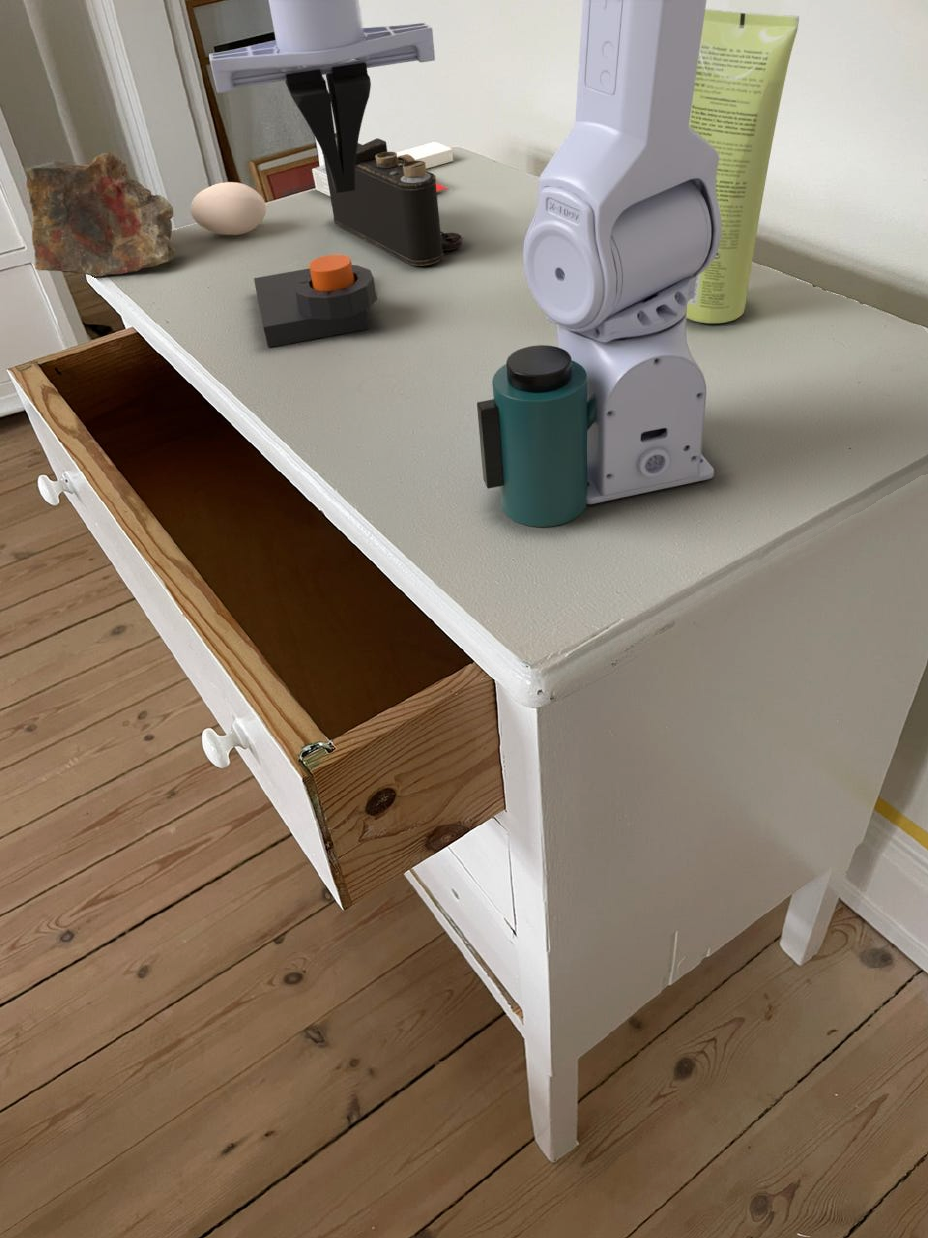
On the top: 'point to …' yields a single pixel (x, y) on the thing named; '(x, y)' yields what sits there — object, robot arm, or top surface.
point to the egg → (228, 208)
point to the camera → (393, 205)
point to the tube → (737, 141)
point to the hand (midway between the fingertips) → (344, 187)
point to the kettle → (538, 436)
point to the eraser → (430, 154)
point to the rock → (97, 219)
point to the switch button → (331, 272)
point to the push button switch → (312, 306)
